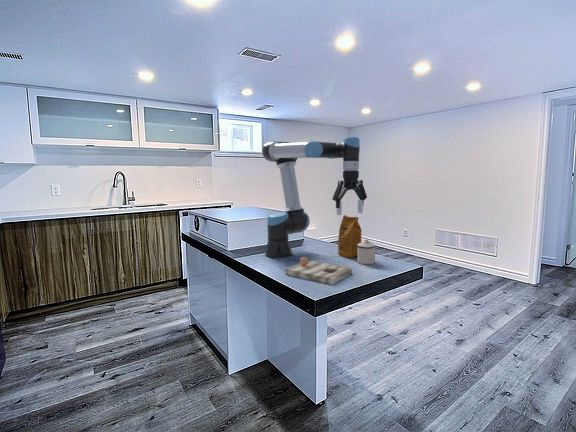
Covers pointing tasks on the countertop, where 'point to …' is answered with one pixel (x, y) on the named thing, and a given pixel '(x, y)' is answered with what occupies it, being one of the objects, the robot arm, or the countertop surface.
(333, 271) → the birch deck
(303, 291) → the countertop surface
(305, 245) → the countertop surface
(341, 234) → the coffee package
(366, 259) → the teacup with lid
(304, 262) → the ball
